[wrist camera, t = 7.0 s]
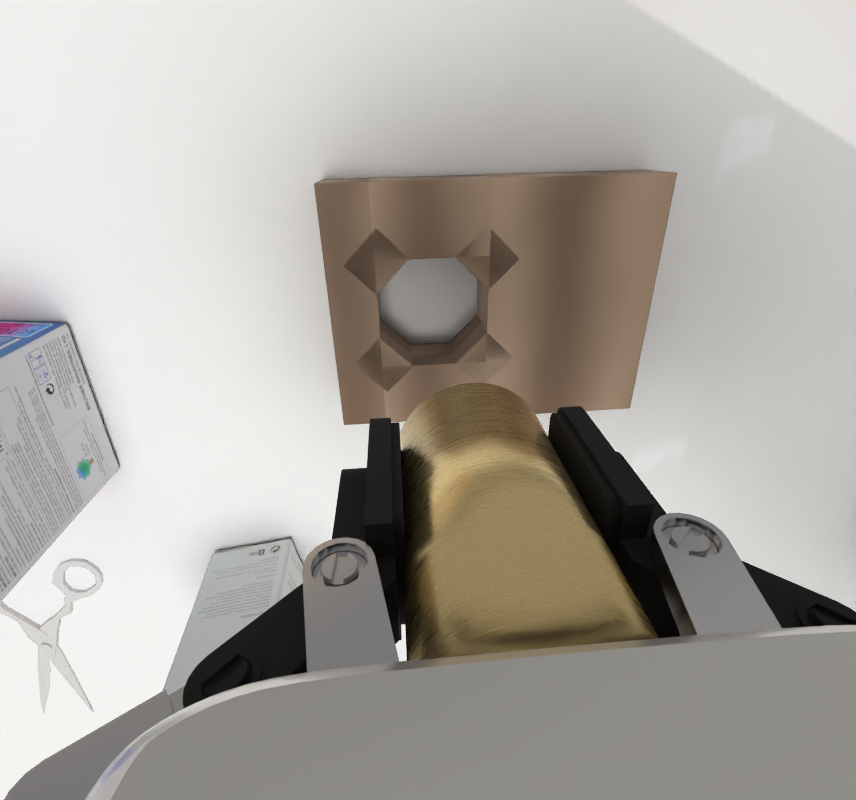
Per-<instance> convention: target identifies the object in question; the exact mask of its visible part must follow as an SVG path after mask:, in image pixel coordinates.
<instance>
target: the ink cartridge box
mask: <svg viewBox="0 0 856 800" xmlns="http://www.w3.org/2000/svg"><path fill="white" fill-rule="evenodd" d="M118 468H119V466H118V463H117V461H116V458H115V455H114V453H113V450H112V447H111V444H110V442H109V439H108V436H107V433H106V431H105V428H104V425H103V422H102V420H101V417H100V414H99V411H98V408H97V406H96V403H95V400H94V397H93V394H92V392H91V389H90V386H89V383H88V381H87V378H86V375H85V372H84V370H83V367H82V364H81V361H80V359H79V356H78V353H77V351H76V348H75V345H74V342H73V340H72V337H71V334H70V331H69V328H68V326H67V325H66V324H64V323H44V322H15V321H0V602H1V601H2V600H3V599H4V597H5V596H6V595H7V594H8V593H9V592H10V591H11V590H12V588H13V587H14V586H15V585H16V584H17V583H18V582H19V581H20V579H21V578H22V577H23V576H24V575H25V574H26V573H27V572H28V570H29V569H30V568H31V567H32V566H33V565H34V564H35V562H36V561H37V560H38V559H39V558H40V557H41V556H42V555H43V553H44V552H45V551H46V550H47V549H48V548H49V547H50V546H51V544H52V543H53V542H54V541H55V540H56V539H57V538H58V537H59V535H60V534H61V533H62V532H63V531H64V530H65V529H66V527H67V526H68V525H69V524H70V523H71V522H72V521H73V520H74V518H75V517H76V516H77V515H78V514H79V513H80V512H81V511H82V509H83V508H84V507H85V506H86V505H87V504H88V503H89V502H90V500H91V499H92V498H93V497H94V496H95V495H96V494H97V492H98V491H99V490H100V489H101V488H102V487H103V486H104V485H105V483H106V482H107V481H108V480H109V479H110V478H111V477H112V476H113V475H114V474H115V473H116V472H117V470H118Z"/></svg>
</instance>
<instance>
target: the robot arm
mask: <svg viewBox="0 0 856 800" xmlns="http://www.w3.org/2000/svg"><path fill="white" fill-rule="evenodd" d="M548 438H549V440H550V442H551V444H552V446H553V447H554V449H555V451H556V453H557V455H558V456H559V458H560V460H561V462H562V464H563V465H564V467H565V469H566V471H567V473H568V474H569V476H570V478H571V480H572V482H573V483H574V485H575V487H576V489H577V491H578V493H579V494H580V496H581V498H582V500H583V502H584V503H585V505H586V507H587V509H588V511H589V512H590V514H591V516H592V518H593V520H594V521H595V523H596V525H597V527H598V529H599V530H600V532H601V534H602V536H603V538H604V539H605V541H606V543H607V545H608V547H609V549H610V550H611V552H612V554H613V556H614V558H615V559H616V561H617V563H618V565H619V567H620V568H621V570H622V572H623V574H624V576H625V577H626V579H627V581H628V583H629V585H630V586H631V588H632V590H633V592H634V594H635V595H636V597H637V599H638V601H639V603H640V604H641V606H642V608H643V610H644V612H645V614H646V615H647V617H648V619H649V621H650V623H651V624H652V626H653V628H654V630H655V632H656V633H657V635H658V637H659V638H655V639H643V640H632V641H621V642H609V643H598V644H587V645H575V646H564V647H553V648H542V649H531V650H520V651H509V652H498V653H487V654H477V655H466V656H456V657H445V658H435V659H424V660H413V661H403V662H399V659H398V654H397V650H396V646H395V644H396V643H397V642H398V641H399V640H401V624H406V623H405V598H404V570H405V565H406V548H405V527H404V506H403V485H402V464H401V445H400V429H399V422H398V423H391V418H374V419H370V426H369V443H368V460H367V468H359V469H343V470H342V472H341V477H340V485H339V492H338V499H337V506H336V514H335V521H334V528H333V535H332V540H329V541H326V542H324V543H322V544H321V545H319V546H317V547H316V548H315V549H314V550H313V551H311V552H310V553H309V554H308V556H307V558H306V560H305V561H304V564H303V571H302V575H303V583H302V584H301V585H299V586H298V587H297V588H295V589H294V590H293V591H292V592H290V593H289V594H288V595H286V596H285V597H284V598H282V599H281V600H280V601H278V602H277V603H276V604H274V605H273V606H272V607H271V608H269V609H268V610H267V611H265V612H264V613H263V614H261V615H260V616H259V617H257V618H256V619H255V620H253V621H252V622H251V623H249V624H248V625H247V626H246V627H244V628H243V629H242V630H240V631H239V632H238V633H236V634H235V635H234V636H232V637H231V638H230V639H228V640H227V641H226V642H225V643H223V644H222V645H221V646H219V647H218V648H217V649H215V650H214V651H213V652H211V653H210V654H209V655H207V656H206V657H205V658H204V659H203V660H202V661H201V662H200V663H199V664H198V665H197V666H196V667H195V669H194V670H193V672H192V673H191V674H190V676H189V677H188V679H187V682H186V685H185V686H183V687H182V688H180V689H178V690H177V691H175V692H173V693H171V694H170V695H168V693H167V691H166V690H164V691H162V692H161V693H159V694H157V695H155V696H154V697H152V698H150V699H149V700H147V701H145V702H143V703H142V704H140V705H138V706H136V707H135V708H133V709H131V710H130V711H128V712H126V713H124V714H123V715H121V716H119V717H117V718H116V719H114V720H112V721H111V722H109V723H107V724H105V725H104V726H102V727H100V728H99V729H97V730H95V731H93V732H92V733H90V734H88V735H86V736H85V737H83V738H81V739H80V740H78V741H76V742H74V743H73V744H71V745H69V746H67V747H66V748H64V749H62V750H61V751H59V752H57V753H55V754H54V755H52V756H50V757H48V758H47V759H45V760H43V761H42V762H41V763H39V764H38V765H37V766H35V767H34V768H32V769H31V770H30V771H28V772H27V773H26V774H25V775H24V776H23V777H22V778H21V779H20V780H19V781H18V782H17V783H16V784H15V785H14V787H13V788H12V789H11V790H10V791H9V792H8V794H7V796H6V797H5V799H4V800H856V612H855V611H853V610H852V609H850V608H848V607H846V606H845V605H843V604H841V603H839V602H837V601H835V600H832V599H830V598H828V597H825V596H823V595H820V594H818V593H816V592H813V591H811V590H809V589H806V588H804V587H802V586H799V585H797V584H795V583H792V582H790V581H788V580H785V579H783V578H781V577H778V576H776V575H774V574H771V573H769V572H767V571H764V570H762V569H760V568H757V567H755V566H753V565H750V564H748V563H745V562H743V561H741V560H740V558H739V556H738V555H737V553H736V551H735V550H734V548H733V546H732V545H731V543H730V541H729V540H728V538H727V537H726V536H725V535H724V533H723V532H722V531H721V530H720V529H718V528H717V527H716V526H714V525H713V524H712V523H710V522H708V521H706V520H704V519H702V518H699V517H696V516H693V515H689V514H683V513H669V514H666V512H665V511H664V510H663V508H662V507H661V506H660V505H659V503H658V502H657V501H656V499H655V498H654V497H653V495H652V494H651V493H650V491H649V490H648V489H647V487H646V486H645V485H644V483H643V482H642V481H641V480H640V478H639V477H638V476H637V474H636V473H635V472H634V470H633V469H632V468H631V466H630V465H629V464H628V462H627V461H626V460H625V458H624V457H623V456H622V455H621V454H620V453H619V452H615V450H614V449H613V448H612V446H611V445H610V444H609V442H608V441H607V440H606V438H605V437H604V436H603V434H602V433H601V432H600V430H599V429H598V428H597V426H596V425H595V424H594V422H593V421H592V420H591V418H590V417H589V416H588V414H587V413H586V411H585V410H584V409H583V408H582V407H581V406H573V407H559V408H558V410H557V413H552V414H551V417H550V425H549V434H548Z"/></svg>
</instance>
